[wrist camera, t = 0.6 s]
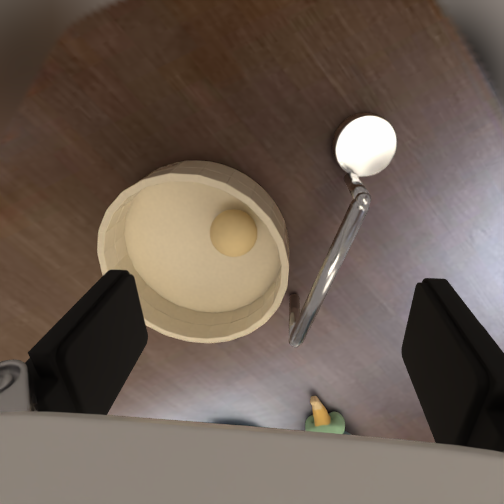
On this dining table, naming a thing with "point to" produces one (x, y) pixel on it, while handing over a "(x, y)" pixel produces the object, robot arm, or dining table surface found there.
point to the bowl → (196, 251)
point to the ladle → (355, 165)
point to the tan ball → (233, 233)
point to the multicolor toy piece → (324, 419)
